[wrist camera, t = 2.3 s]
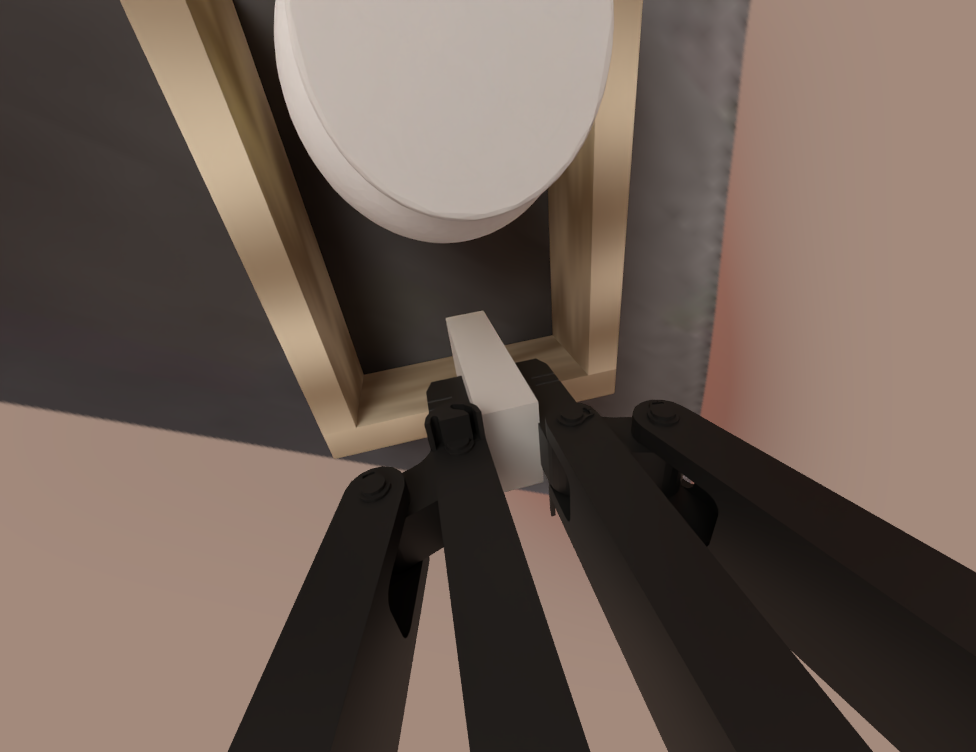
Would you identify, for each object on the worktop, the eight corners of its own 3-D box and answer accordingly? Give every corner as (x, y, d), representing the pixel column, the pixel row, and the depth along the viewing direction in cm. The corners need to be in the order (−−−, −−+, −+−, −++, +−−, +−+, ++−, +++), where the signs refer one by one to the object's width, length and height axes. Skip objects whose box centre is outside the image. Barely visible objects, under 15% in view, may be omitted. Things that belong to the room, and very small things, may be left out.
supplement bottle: (519, 82, 16) (774, -75, 5) (459, 229, 19) (548, 329, 8) (363, -25, 14) (239, -756, 3) (318, 163, 16) (159, 176, 5)
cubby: (183, -7, 13) (79, -87, 9) (577, -40, 15) (651, -120, 10) (345, 401, 22) (334, 458, 18) (575, 351, 24) (614, 393, 20)
